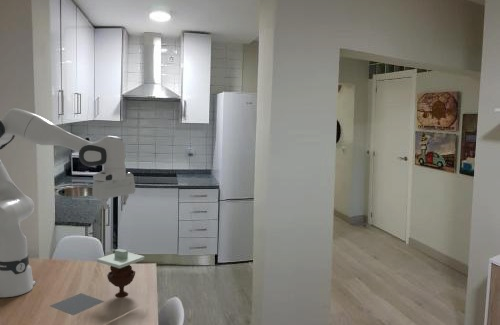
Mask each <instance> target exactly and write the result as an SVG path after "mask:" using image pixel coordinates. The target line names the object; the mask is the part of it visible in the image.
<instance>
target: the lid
mask: <svg viewBox="0 0 500 325" xmlns="http://www.w3.org/2000/svg"><path fill="white" fill-rule="evenodd" d="M144 260H145V256H144V255H141V254H136V253H133V252H129V251H128V250H126V249H122V248H116V249H114V253H111V254H108V255H105V256H103V257H98V258H96V262H97V263H99V264H104V265H106V266H110V267H111V266H113V267H117V268H122V267H125V266H128V265H130V266H131V265H133V264H135V263H138V262H141V261H144Z"/></svg>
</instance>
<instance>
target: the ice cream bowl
mask: <svg viewBox="0 0 500 325" xmlns="http://www.w3.org/2000/svg"><path fill="white" fill-rule="evenodd" d="M109 268H110V271H108V273H107V276H106V277H107V280H108V281H109V283H110V284H112V285H113V286H115V287H116V288H117V287H118V288H119V291H118V292H117V293H115V295H114V297H116V298H126V297H128V296H129V293H128V292H127V291H125V287H126V286H128V285H131V283H132V282H133V280H134V278H135V276H136V271H135V270H133V268H132V265H131V264H130V265H128V266H125V267H122V268H117V267H113V266H110V267H109Z"/></svg>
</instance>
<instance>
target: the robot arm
mask: <svg viewBox="0 0 500 325" xmlns="http://www.w3.org/2000/svg"><path fill="white" fill-rule="evenodd" d="M15 137H19V138H21V139H22V140H25V141H27V142H30V143H33V144H36V145H39V146H40V145H41V146H59V147H64V148H68V149H70V150H72V151H74V152H77V153H78V159H79V161H80V163H81V164H82V165H84V166H86V167H89V168H90V167H91V168H95V167H97V166H102V167H103V170H100V171H99V172H97V173H96V174H94V175H93V176H92V178H93V181H94V182H93V183H92V198H93V199H94V200H99V201H100V202H101V204H102V207H103V209H104V210H108V209H109V208H110V204H109V203H107V201H108V199H109V198H110V199H111V198H116V197H121V196H122V200H121V201H120V205H121V206H126V205H127V201H128V199H129V197H130V196H129V195H132V194H135V192H136V184H135V178H134V174H133V173H132V172H127V171H126V170H127V169H126V167H127V166H126V164H125V162H126V161H125V160H126V145H125V141H124V139H123V138H121V137H120V136H115V135H105V136H104V137H102V138H101V139H98V140H97V141H90V140H88V139H85V138H83V137H81V136H78V135H76V134H73V133H71V132H69V131H66V130H65V129H64V128H62V127H60V126H58V125H57V124H55V123H53V122H52V121H50V120H48V119H46V118H45V117H42V116H40V115H39V114H38V115H37V114H35V113H33V112H31V111H28V110H25V109H20V108H16V107H14V108H11V109H8V110H7V111H6V112H5V113H4V115H3V117H2V118H0V150H3V149H4V148H5V147H6V146H7V145H9V144H10V143H11V142H12V141H13V140H14V139H15ZM35 207H36V206H35V202H34V200H33V199H32V198H31V197H30V196H28V195H26V194H25V193H23V191H22V190H21V189H20V188H19V187H18V186H17V185H16V184H15V182H14V180H13V179H11V176H10V174H9V173H8V171H7V168H6V167H5V165H4V163H3V162H2V160H1V158H0V298H9V297H10V298H11V297H17V296H21V295H23V294H27V293H29V292H30V291H32V290H33V288H34V286H35V285H36V281H35V280H34V279H33V272H32V266H31V265H30V258H29V255H28V240H27V236H26V235H25V234H24V233H23V231H22V227H21V222H23V221H24V220H27V219H28V218H29V217H30V216H31V215H32V214H33V213H34V210H35V209H36V208H35Z"/></svg>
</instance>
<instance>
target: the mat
mask: <svg viewBox="0 0 500 325" xmlns="http://www.w3.org/2000/svg"><path fill="white" fill-rule="evenodd" d="M104 302H105V301H104V300H101V299H99V298H96V297H93V296H90V295H88V294H84V293H78V294H76V295H73V296H71V297H68V298H65V299H63V300H61V301H58V302H55V303H53V304H51V305H50V307H52V308H54V309H57V310H59V311H61V312H64V313H67V314H69V315H71V316H75V315H78V314H79V313H81V312H84V311H87V310H88V309H91V308H93V307H95V306H97V305H100V304H101V303H104Z"/></svg>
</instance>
